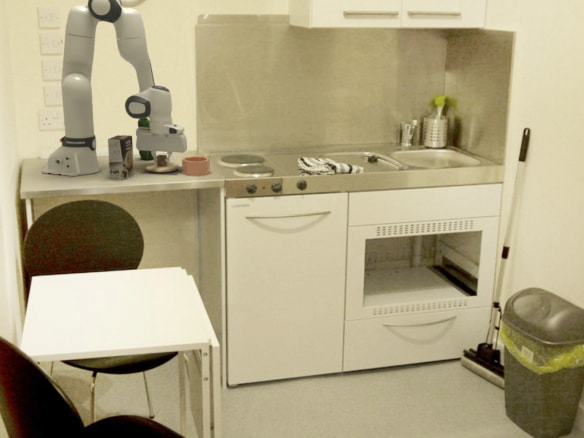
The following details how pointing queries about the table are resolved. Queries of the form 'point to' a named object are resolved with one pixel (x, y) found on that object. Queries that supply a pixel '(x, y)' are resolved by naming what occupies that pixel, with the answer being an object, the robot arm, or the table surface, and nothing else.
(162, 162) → the lid
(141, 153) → the vegetable
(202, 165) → the bowl
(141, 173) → the mat
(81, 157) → the robot arm
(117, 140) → the coffee box
